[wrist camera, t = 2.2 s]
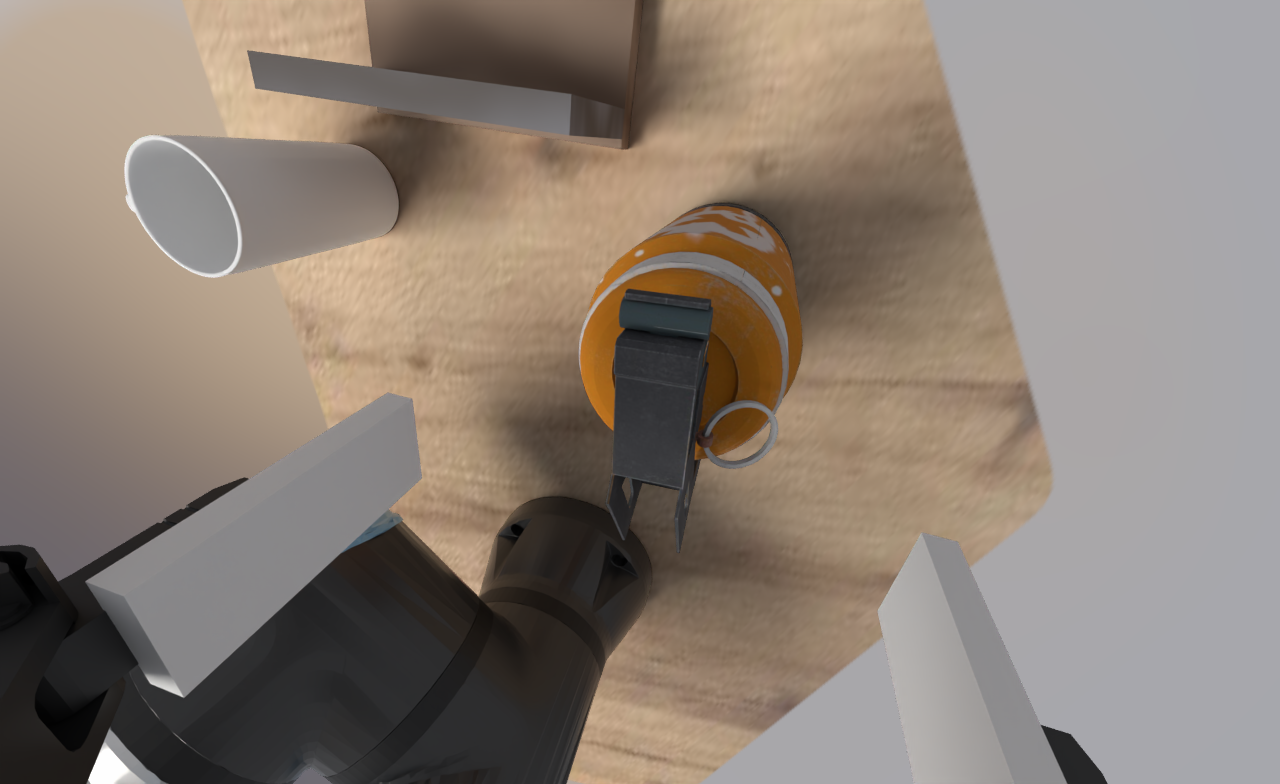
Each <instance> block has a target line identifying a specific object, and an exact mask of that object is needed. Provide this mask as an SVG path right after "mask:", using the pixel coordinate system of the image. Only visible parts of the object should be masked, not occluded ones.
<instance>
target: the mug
mask: <svg viewBox="0 0 1280 784" xmlns="http://www.w3.org/2000/svg"><path fill="white" fill-rule="evenodd" d="M125 182H126V187H127V192H128V194H127V195H126V201H127V203H128V205H129V207H130V209H131V210H132V211H134V212H135V213H136V215H137V217H138V219H139V220H140V222H141V224H142V225H143V227H144V228H145V230H146V231H147V233H148V234H149V235H150V237H151V238H152V239H153V241H154V242H155V243H156V244H157V245H158V246H159V247H160V249H161V250H163V252H164V253H165V254H167V255H168V256H169V257H170V258H171V259H173V260H174V261H175V262H176V263H178V264H179V265H181V266H182V267H184V268H185V269H187V270H189V271H191V272H193V273H195V274H198V275H201V276H205V277H222V276H225V275H230V274H235V273H239V272H244V271H248V270H252V269H256V268H261V267H264V266H268V265H272V264H276V263H280V262H284V261H288V260H292V259H296V258H300V257H304V256H308V255H312V254H316V253H320V252H324V251H328V250H332V249H336V248H340V247H344V246H348V245H352V244H356V243H359V242H363V241H367V240H370V239H374V238H377V237H380V236H383V235H385V234H386V233H388V232H389V231H390V230H391V229H392V227H393V226H394V224H395V222H396V220H397V216H398V210H399V200H398V194H397V190H396V186H395V184H394V181H393V179H392V177H391V175H390V173H389V171H388V170H387V168H386V167H385V166H384V164H383V163H382V162H381V161H380V160H379V159H378V158H377V157H376V156H375V155H374V154H372V153H371V152H370V151H368V150H366V149H364V148H362V147H360V146H357V145H352V144H342V143H329V142H308V141H285V140H265V139H245V138H224V137H204V136H179V135H178V136H177V135H148V136H144V137H141V138H140V139H138V140H136V141H135V142H134V143H133V144H132V146H131V147H130V149H129V151H128V153H127V156H126V160H125Z"/></svg>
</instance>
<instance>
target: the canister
mask: <svg viewBox="0 0 1280 784" xmlns="http://www.w3.org/2000/svg"><path fill="white" fill-rule="evenodd" d="M802 346H803V345H802V325H801V319H800V312H799V305H798V298H797V291H796V284H795V278H794V271H793V264H792V259H791V255H790V251H789V249H788V246H787V244H786V241H785V240H784V238H783V236H782V235H781V233H780V232H779V230H778V229H777V228H776V227H775V226H774V225H773V224H772V223H771V222H770V221H769V220H768V219H767V218H765V217H764V216H763V215H761V214H759V213H758V212H756V211H754V210H752V209H750V208H747V207H744V206H741V205H736V204H731V203H715V204H708V205H704V206H701V207H698V208H695V209H692V210H690V211H689V212H687V213H685V214H683V215H682V216H680V217H679V218H677V219H676V220H674V221H673V222H671V223H670V224H668V225H667V226H665V227H664V228H662V229H661V230H660V231H658V232H657V233H655V234H654V235H652V236H651V237H649V238H648V239H646V240H645V241H643V242H642V243H640V244H639V245H638V246H636V247H635V248H633V249H632V250H630V251H629V252H628V253H626V254H625V255H624V256H622V257H621V258H620V259H618V260H617V261H616V263H615V264H614V265H613V266H612V267H611V268H610V269H609V270H608V271H607V272H606V274H605V275H604V277H603V278H602V280H601V281H600V283H599V284H598V286H597V288H596V291H595V293H594V295H593V297H592V300H591V303H590V307H589V311H588V315H587V317H586V319H585V321H584V324H583V327H582V331H581V335H580V341H579V366H580V371H581V376H582V380H583V384H584V388H585V390H586V393H587V395H588V398H589V400H590V402H591V404H592V405H593V407H594V409H595V410H596V412H597V414H598V415H599V416H600V417H601V419H602V420H603V421H604V422H605V424H606V425H607V426H608V427H609V428H610V429H611V430H612V431H613V448H612V472H611V479H610V484H609V489H608V494H607V499H606V505H607V507H608V509H609V511H610V513H611V516H612V518H613V520H614V522H615V524H616V527H617V529H618V531H619V533H620V535H621V538H622V540H625V539H626V535H627V532H628V528H629V525H630V522H631V518H632V515H633V512H634V508H635V505H636V501H637V498H638V495H639V491H640V489H641V486H642V484H643V483H646V484H651V485H655V486H660V487H665V488H670V489H674V490H679V496H678V502H677V507H676V513H675V532H676V547H677V553H680V548H681V543H682V538H683V534H684V529H685V524H686V520H687V515H688V510H689V505H690V501H691V497H692V493H693V489H694V485H695V481H696V476H697V473H698V469H699V465H700V460H701V459H705V458H709V459H710V460H711V461H712V462H713V463H714V464H716V465H718V466H720V467H724V468H729V469H736V468H742V467H746V466H749V465H751V464H753V463H755V462H757V461H758V460H760V459H761V458H762V457H764V456H765V455H766V454H767V453H768V452H769V450H770V449H771V448H772V446H773V445H774V443H775V441H776V438H777V434H778V423H777V420H776V417H775V416H774V415H775V413H776V411H777V409H778V407H779V405H780V403H781V402H782V399H783V398H784V396H785V395H786V394H787V392H788V390H789V388H790V387H791V385H792V383H793V381H794V379H795V377H796V374H797V371H798V367H799V364H800V360H801V353H802ZM769 421H770V424H771V429H770V434H769V437H768V439H767V441H766V443H765V444H764V446H763V447H762V448H761V449H760V450H759V451H758V452H756V453H755V454H754V455H752V456H750V457H748V458H746V459H743V460H739V461H725V460H722V459H719V458H717V457H716V456H718V455H721V454H724V453H726V452H729V451H731V450H733V449H735V448H737V447H739V446H741V445H743V444H744V443H746V442H747V441H749V440H750V439H752V438H753V437H755V436H756V435H757V434H758V433H759V432H760V431H761V430H762V429H763V428H764V427H765V426H766V425H767V424H768V423H769ZM626 477H628V478H629V482H630V488H631V496H630V500H629V504H628V503H627V500H626V498H625V495H624V492H623V490H622V484H623V482H624V480H625V478H626ZM685 495H686V503H685V509H684V499H685Z"/></svg>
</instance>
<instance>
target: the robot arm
mask: <svg viewBox="0 0 1280 784" xmlns="http://www.w3.org/2000/svg"><path fill="white" fill-rule="evenodd" d="M421 479H422V474H421V466H420V458H419V450H418V441H417V433H416V425H415V417H414V408H413V400H412V399H410V398H407V397H403V396H399V395H395V394H391V393H386V394H385V395H383V396H382V397H380V398H378V399H377V400H375V401H374V402H372V403H370V404H369V405H367V406H366V407H364V408H362V409H361V410H359V411H358V412H356V413H354V414H353V415H351V416H350V417H348V418H346V419H345V420H343V421H341V422H340V423H338V424H337V425H335V426H333V427H332V428H330V429H329V430H327V431H325V432H324V433H322V434H321V435H319V436H317V437H316V438H314V439H313V440H311V441H310V442H308V443H306V444H305V445H303V446H302V447H300V448H298V449H297V450H295V451H294V452H292V453H290V454H289V455H287V456H285V457H284V458H282V459H281V460H279V461H278V462H276V463H274V464H273V465H271V466H270V467H268V468H266V469H265V470H263V471H261V472H260V473H258V474H257V475H255V476H253V477H252V478H250V479H248V478H242V479H239V480H236V481H233V482H231V483H228V484H226V485H223V486H220V487H218V488H215V489H213V490H211V491H209V492H208V493H206V494H204V495H203V496H201V497H199V498H198V499H196V500H194V501H193V502H191V503H190V504H188V505H186V508H185V509H180V510H178V511H176V512H175V513H173V514H171V515H170V516H168V517H166V518H165V519H164V521H163V522H162V523H156V524H155V525H153V526H151V527H150V528H148V529H146V530H145V531H143V532H141V533H140V534H138V535H136V536H135V537H133V538H131V539H130V540H128V541H127V542H125V543H123V544H121V545H120V546H118V547H116V548H115V549H113V550H111V551H110V552H108V553H107V554H105V555H103V556H101V557H100V558H98V559H97V560H95V561H93V562H92V563H90V564H88V565H87V566H85V567H83V568H82V569H80V570H78V571H77V572H75V573H73V574H72V575H70V576H68V577H66V578H64V579H62V580H61V581H59V582H58V581H57V580H56V578H55V577H54V575H53V574H52V573H51V571H50V570H49V568H48V567H47V565H46V564H45V562H44V561H43V559H42V558H41V556H40V555H39V554H38V552H37V551H36V550H35V548H33V547H28V546H23V545H10V546H0V784H293V783H294V782H295V781H296V779H298V778H299V776H300V775H301V774H302V773H303V772H304V771H306V770H307V769H310V768H311V769H313V770H314V771H316V772H317V773H318V774H320V775H322V776H323V777H325V778H326V779H327V780H328V781H330V782H331V783H332V784H566V783H567V780H568V777H569V774H570V771H571V768H572V765H573V762H574V758H575V755H576V752H577V749H578V746H579V743H580V740H581V737H582V733H583V730H584V727H585V724H586V721H587V718H588V715H589V712H590V709H591V705H592V702H593V699H594V696H595V693H596V690H597V687H598V684H599V680H600V677H601V675H602V672H603V668H604V666H605V663H606V660H607V659H608V657H609V656H610V655H611V653H612V652H613V651H614V650H615V648H616V647H617V646H618V644H619V643H620V642H621V640H622V639H623V638H624V636H625V635H626V634H627V632H628V631H629V630H630V628H631V627H632V626H633V625H634V623H635V622H636V621H637V619H638V618H639V616H640V615H641V613H642V611H643V609H644V607H645V604H646V601H647V597H648V594H649V591H650V587H651V582H652V570H651V565H650V561H649V558H648V556H647V553H646V551H645V549H644V547H643V546H642V544H641V543H640V541H639V540H638V539H637V537H636V536H635V535H634V534H633V533H632V532H631V531H630V530H629V529H628V532H627V535H626V539H625V540H622V538H621V535H620V533H619V531H618V529H617V527H616V524H615V522H614V520H613V518H612V516H611V515H610V514H609V513H607V512H605V511H604V510H602V509H600V508H598V507H595V506H593V505H590V504H588V503H585V502H582V501H578V500H574V499H568V498H559V497H550V498H541V499H536V500H533V501H530V502H527V503H525V504H523V505H522V506H520V507H519V508H517V509H516V510H515V511H514V512H513V513H512V514H511V515H510V517H509V518H508V519H507V521H506V522H505V523H504V525H503V526H502V528H501V529H500V530H499V532H498V534H497V536H496V538H495V540H494V543H493V546H492V550H491V554H490V557H489V561H488V565H487V569H486V572H485V576H484V580H483V583H482V587H481V591H480V594H479V596H477V595H476V594H475V593H474V592H473V591H472V590H471V589H470V588H469V587H468V586H467V585H466V584H465V583H464V582H463V581H462V580H461V579H460V578H459V577H458V576H457V575H456V574H455V573H454V572H453V571H452V570H451V569H450V568H449V567H448V566H447V565H446V564H445V563H444V562H443V561H442V560H441V559H440V558H439V557H438V556H437V555H436V554H435V553H434V552H433V551H432V550H431V549H430V548H429V547H428V546H427V545H426V544H425V543H424V542H423V541H422V540H421V539H420V538H419V537H418V536H417V535H416V534H415V533H414V532H413V531H412V530H411V529H410V528H409V527H408V526H407V525H406V524H405V523H404V522H402V520H403V519H402V518H401V516H400V515H399V514H397V513H392V512H391V511H390V510H389V508H390V507H391V506H392V505H393V504H395V503H396V502H397V501H398V500H399V499H400V498H401V497H402V496H403V495H404V494H405V493H406V492H408V491H409V490H410V489H411V488H412V487H413V486H414V485H415V484H416V483H417V482H418V481H419V480H421ZM878 616H879V620H880V625H881V630H882V634H883V639H884V644H885V648H886V653H887V658H888V663H889V667H890V672H891V677H892V681H893V686H894V691H895V696H896V700H897V705H898V709H899V715H900V719H901V724H902V728H903V733H904V738H905V743H906V748H907V753H908V757H909V762H910V767H911V771H912V776H913V781H914V784H1107V782H1106V780H1105V778H1104V776H1103V774H1102V773H1101V771H1100V770H1099V769H1098V768H1097V766H1096V765H1095V764H1094V763H1093V761H1092V760H1091V759H1090V758H1089V756H1088V755H1087V754H1086V753H1085V752H1084V750H1083V749H1082V748H1081V747H1080V745H1079V744H1078V743H1077V742H1076V741H1075V739H1074V738H1073V737H1072V736H1071V734H1068V733H1065V732H1062V731H1058V730H1055V729H1052V728H1049V727H1046V726H1043V725H1040V723H1039V721H1038V718H1037V716H1036V714H1035V712H1034V709H1033V707H1032V705H1031V703H1030V701H1029V698H1028V696H1027V694H1026V692H1025V689H1024V687H1023V685H1022V683H1021V681H1020V678H1019V676H1018V674H1017V672H1016V670H1015V668H1014V665H1013V663H1012V661H1011V659H1010V656H1009V654H1008V652H1007V650H1006V648H1005V645H1004V643H1003V641H1002V639H1001V636H1000V634H999V632H998V630H997V628H996V625H995V623H994V621H993V619H992V617H991V614H990V612H989V610H988V608H987V605H986V603H985V601H984V599H983V597H982V594H981V592H980V590H979V588H978V586H977V583H976V581H975V579H974V577H973V575H972V572H971V570H970V568H969V566H968V563H967V561H966V559H965V557H964V555H963V552H962V550H961V548H960V546H959V544H958V542H957V541H953V540H949V539H945V538H941V537H937V536H934V535H930V534H926V533H921V534H920V536H919V538H918V540H917V542H916V543H915V545H914V547H913V549H912V550H911V552H910V554H909V556H908V558H907V559H906V561H905V563H904V565H903V567H902V568H901V570H900V572H899V574H898V575H897V577H896V579H895V581H894V583H893V584H892V586H891V588H890V590H889V591H888V593H887V595H886V597H885V599H884V600H883V602H882V604H881V606H880V608H879V609H878Z"/></svg>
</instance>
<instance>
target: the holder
mask: <svg viewBox="0 0 1280 784" xmlns="http://www.w3.org/2000/svg"><path fill="white" fill-rule="evenodd" d="M642 7H643V0H365V8H366V17H367V25H368V34H369V42H370V51H371V59H372V67H366V66H359V65H352V64H344V63H337V62H329V61H322V60H315V59H307V58H300V57H292V56H285V55H278V54H270V53H263V52H255V51H248V50H247V52H248V56H249V61H250V65H251V70H252V75H253V79H254V84H255V88H256V89H263V90H270V91H276V92H283V93H290V94H296V95H303V96H310V97H316V98H323V99H330V100H336V101H343V102H350V103H356V104H363V105H370V106H376V107H377V111H378V112H379V113H386V114H393V115H399V116H406V117H412V118H419V119H426V120H432V121H439V122H445V123H452V124H458V125H465V126H472V127H478V128H485V129H491V130H498V131H505V132H511V133H518V134H524V135H531V136H537V137H544V138H551V139H557V140H564V141H570V142H577V143H583V144H590V145H597V146H603V147H610V148H616V149H628V144H629V134H630V124H631V114H632V105H633V95H634V85H635V75H636V66H637V56H638V46H639V36H640V27H641V17H642Z"/></svg>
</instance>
